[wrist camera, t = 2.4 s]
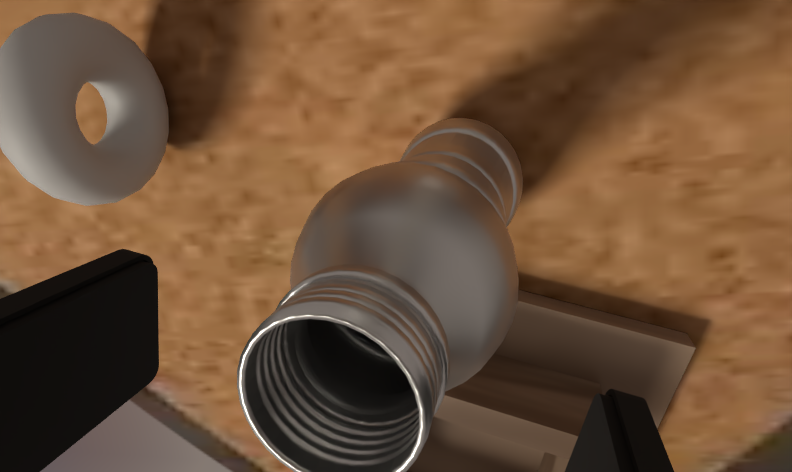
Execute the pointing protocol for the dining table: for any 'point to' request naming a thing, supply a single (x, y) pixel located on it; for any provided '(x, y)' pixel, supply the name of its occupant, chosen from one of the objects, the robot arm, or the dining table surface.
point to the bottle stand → (550, 387)
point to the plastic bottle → (388, 304)
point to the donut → (56, 115)
